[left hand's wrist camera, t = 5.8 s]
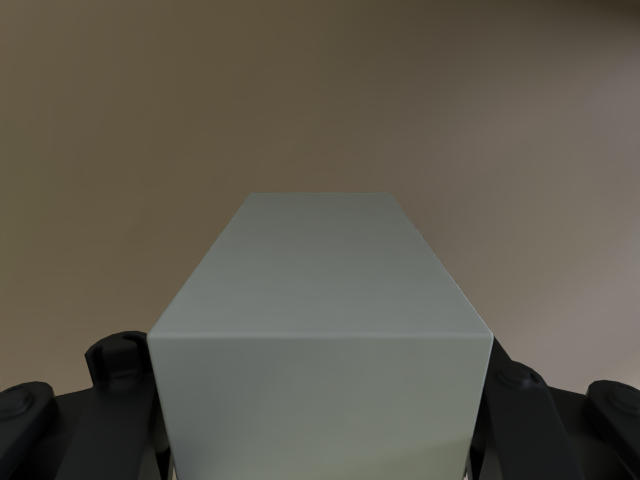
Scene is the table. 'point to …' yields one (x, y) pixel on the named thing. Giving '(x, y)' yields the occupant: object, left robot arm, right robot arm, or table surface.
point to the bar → (320, 348)
